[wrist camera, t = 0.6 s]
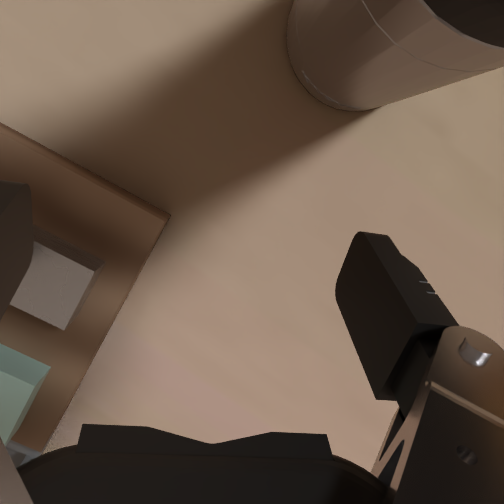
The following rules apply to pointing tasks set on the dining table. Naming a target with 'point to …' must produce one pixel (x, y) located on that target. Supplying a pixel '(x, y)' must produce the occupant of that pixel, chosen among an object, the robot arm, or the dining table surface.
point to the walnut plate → (88, 239)
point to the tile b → (17, 388)
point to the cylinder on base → (56, 280)
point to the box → (22, 452)
